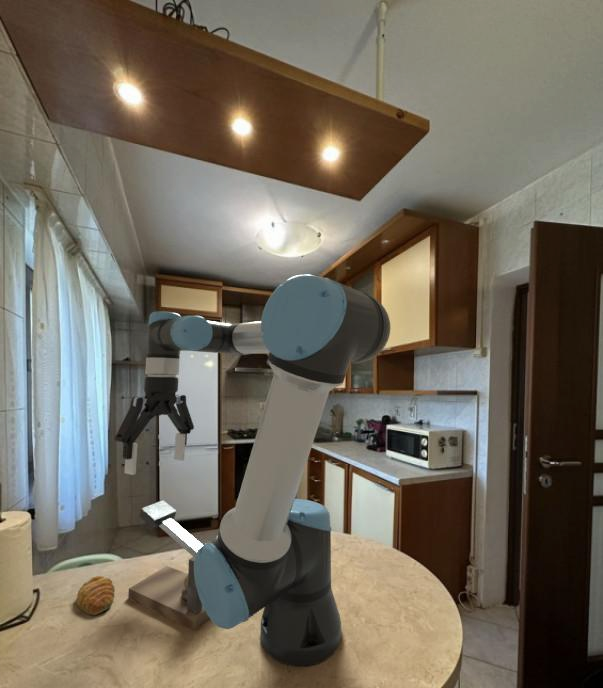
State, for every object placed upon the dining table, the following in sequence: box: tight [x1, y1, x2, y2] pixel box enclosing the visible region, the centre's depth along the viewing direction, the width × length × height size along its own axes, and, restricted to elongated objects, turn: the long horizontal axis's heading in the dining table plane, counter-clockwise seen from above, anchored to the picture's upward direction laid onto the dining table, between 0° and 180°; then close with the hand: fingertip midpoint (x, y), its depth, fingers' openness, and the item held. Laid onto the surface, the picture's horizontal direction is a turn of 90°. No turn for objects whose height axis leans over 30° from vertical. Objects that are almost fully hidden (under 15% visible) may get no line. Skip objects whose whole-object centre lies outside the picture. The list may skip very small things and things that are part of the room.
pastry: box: [75, 575, 116, 616], centre depth 70 cm, size 9×7×4 cm
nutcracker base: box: [127, 556, 210, 631], centre depth 72 cm, size 20×10×12 cm, turn 62°
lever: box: [139, 499, 204, 557], centre depth 73 cm, size 21×6×3 cm, turn 60°
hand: (156, 466), depth 77 cm, fingers open, 13 cm apart
